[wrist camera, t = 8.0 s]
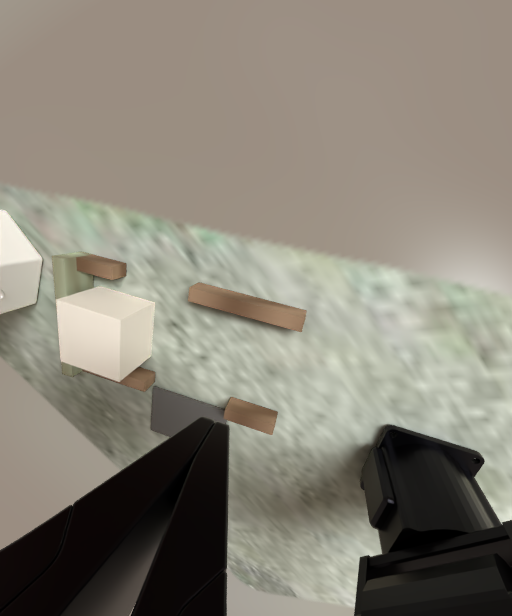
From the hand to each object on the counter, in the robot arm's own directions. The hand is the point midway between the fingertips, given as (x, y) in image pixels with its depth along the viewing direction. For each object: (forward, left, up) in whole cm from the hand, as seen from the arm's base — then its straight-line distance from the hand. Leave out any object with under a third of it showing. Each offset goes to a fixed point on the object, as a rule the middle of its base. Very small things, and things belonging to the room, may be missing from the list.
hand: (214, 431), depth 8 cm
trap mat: (+6, +13, -12) cm, 19 cm away
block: (+12, +5, -12) cm, 18 cm away
